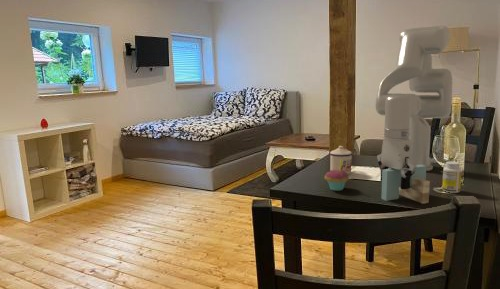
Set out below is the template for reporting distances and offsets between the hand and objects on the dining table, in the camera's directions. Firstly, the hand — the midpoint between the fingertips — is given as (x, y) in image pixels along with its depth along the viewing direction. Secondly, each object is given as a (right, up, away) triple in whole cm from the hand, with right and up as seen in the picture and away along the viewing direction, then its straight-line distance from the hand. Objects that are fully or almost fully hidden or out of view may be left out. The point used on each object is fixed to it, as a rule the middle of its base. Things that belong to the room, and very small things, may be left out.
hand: (394, 184), depth 123 cm
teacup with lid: (-8, +1, +35) cm, 37 cm away
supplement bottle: (+22, -3, +6) cm, 23 cm away
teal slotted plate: (+4, -4, +2) cm, 6 cm away
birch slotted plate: (+5, -4, +3) cm, 7 cm away
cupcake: (-16, -3, +13) cm, 21 cm away
